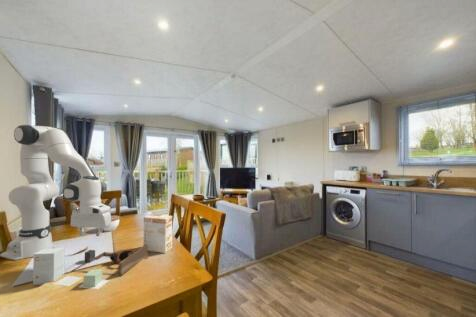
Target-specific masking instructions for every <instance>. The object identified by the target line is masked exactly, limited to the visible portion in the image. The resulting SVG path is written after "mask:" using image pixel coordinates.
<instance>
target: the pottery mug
mask: <svg viewBox="0 0 476 317" xmlns="http://www.w3.org/2000/svg"><path fill="white" fill-rule="evenodd" d="M134 252H135V251H133V250H130V249H123V250H121V251H119V252H112V253H113V254H111V256H109V259H110V261H111V262H113V263H114V264H115V265H116V264H117V265H118V267H117V268H118V269H119V263H120V262H121V261H123V260H124V259H126V258H127V257H128V254H133V253H134ZM117 253H119V254H117Z"/></svg>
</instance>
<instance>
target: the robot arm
mask: <svg viewBox="0 0 476 317" xmlns="http://www.w3.org/2000/svg"><path fill="white" fill-rule="evenodd" d="M13 137H14V140H15V141H16V143H18V144H20V146H21V147H20V152H19V154H20V155H19V161H20V173H21V174H22V176H24V177H25V178H26V179H27V180H28V183H29V184H22V185H20V186H17V187H14V188H13V189H11V191H9V194H8V201H9V202H10V203H11V204H12V205H15V207H17V208H18V210H19V214H20V216H21V228H20V229H18V230H17V232H18V236H17V237H15V238H14V239H12V240H11V241H10V242H9V243H8V244H7V245H6V246H7V247H6V251H3V252H1V253H0V257H1V258H6V259H8V260H12V261H19V260H22V259H28V258H34V254H35V253H37V252H39V251H41V250H43V249H45V248H54V246H55V244H54V243H53V238H52V232H51V228H52V227H51V224H50V210H48V209H46V208H45V206H44V202H45V201H49V200H52V199H54V198H55V197H57V196H58V194H59V192H60V187H59V185H58V184H57V183H55V181H54V180H53V179H52V176H51V173H50V168H49V160H50V161H51V162H53V163H54V164H57V165H60V166H63V167H64V166H66V167H69V168H71V169H74V170H76V171H77V172H78V173H79V174H80V179H79V180H77V181H75V182H71V183H68V184H66V185H65V186H64V188H63V189H62V190H63V191H62V195H63V198H64V199H65V200H66V201H68V202H79V207H75V208H74V209H72V213H71V215H70V226H71V227H77V230H78V232H79V236H85V235H86V230H84V228H94V229H95V228H97V230H98V231H97V232H96V234H95V235H96V237H101V236H102V232H103V231H104V230H103V229H104V228H106V227H108V226H110V224H111V216H112V215H111V212H110V211H111V206H108V205H107V204H104V203H102V198H101V197H102V195H103V193H104V191H105V186H104V184H103V182H101V180H100V177H98V176H96V173H95V172H94V171H93V169H92V168H91V166H90V164H89V163H88V162H87V160H86V159H85V158H84V157H83V156H81V155H80V153H78V152H77V150H76V149H75V148H74V145H73V144H72V141H71V139H70V138H69V135H68V132H67V131H66V130H65V129H63V128H59V127H53V126H49V125H48V126H47V125H30V124H21V125H18V126H17V127H16V128H15V129H14V131H13Z"/></svg>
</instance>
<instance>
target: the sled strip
mask: <svg viewBox="0 0 476 317" xmlns="http://www.w3.org/2000/svg"><path fill="white" fill-rule="evenodd" d="M133 252H134V253H133V254H132V253H129V254H128V257H127V258H126V259H123V260H121V261H120V263H119V265H118V266H119V268H118V272H119V274H118V273H109V272H102V276H103V275H104V276H114V277H115V276H116V277H123V276H124V275H125V274H127V273H128V272H129V271H130V270H132V269H133V268H134V267H135V266H136V265H138V264H139V263H140V262H142V261H143V260H147V259H148V257H149V256H148V252H149V251H148V245H144V246H143V245H142V246H141V247H140V248H138V249H137V250H136V251H133ZM113 253H114V252H109V251H108V252H107V251H103V252H102V253H99V255H97V256H96V249H89V250H87V251H85V252H84V263H83V264H80V265H79V266H77V267H75V268H74V269H72V270H70V271H69V272H71V273H72V272H74V273H84V274H87V273H88V272H89V271H90V270H89V271H86V270H78V269H80V268H81V267H83V266H85V265H86V264H89V263H92V262H93V261H97V260H99V259H101V258H103V257H104V256H105V257H110V256H111V254H113ZM116 253H117V254H119V253H120V252H116Z"/></svg>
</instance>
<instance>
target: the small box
mask: <svg viewBox="0 0 476 317" xmlns="http://www.w3.org/2000/svg"><path fill="white" fill-rule="evenodd" d="M65 253H66V247H65V246H62V247H61V246H60V247H59V246H58V247H53V248H45V249H43V250H41V251H39V252H37V253H35V254H34V257H33V265H32V266H33V272H32V273H33V274H32V275H33V276H32V278H33V279H32V284H33V286H36V285H37V286H40V285H44V284H46V283H47V282H49V283H51V282H56V280H58V279H59V278H60V277H61V276H63V275H64V274H66V273H65V272H66V270H65V268H66V264H65V263H66V262H65V261H66V258H65V257H66V254H65Z"/></svg>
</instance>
